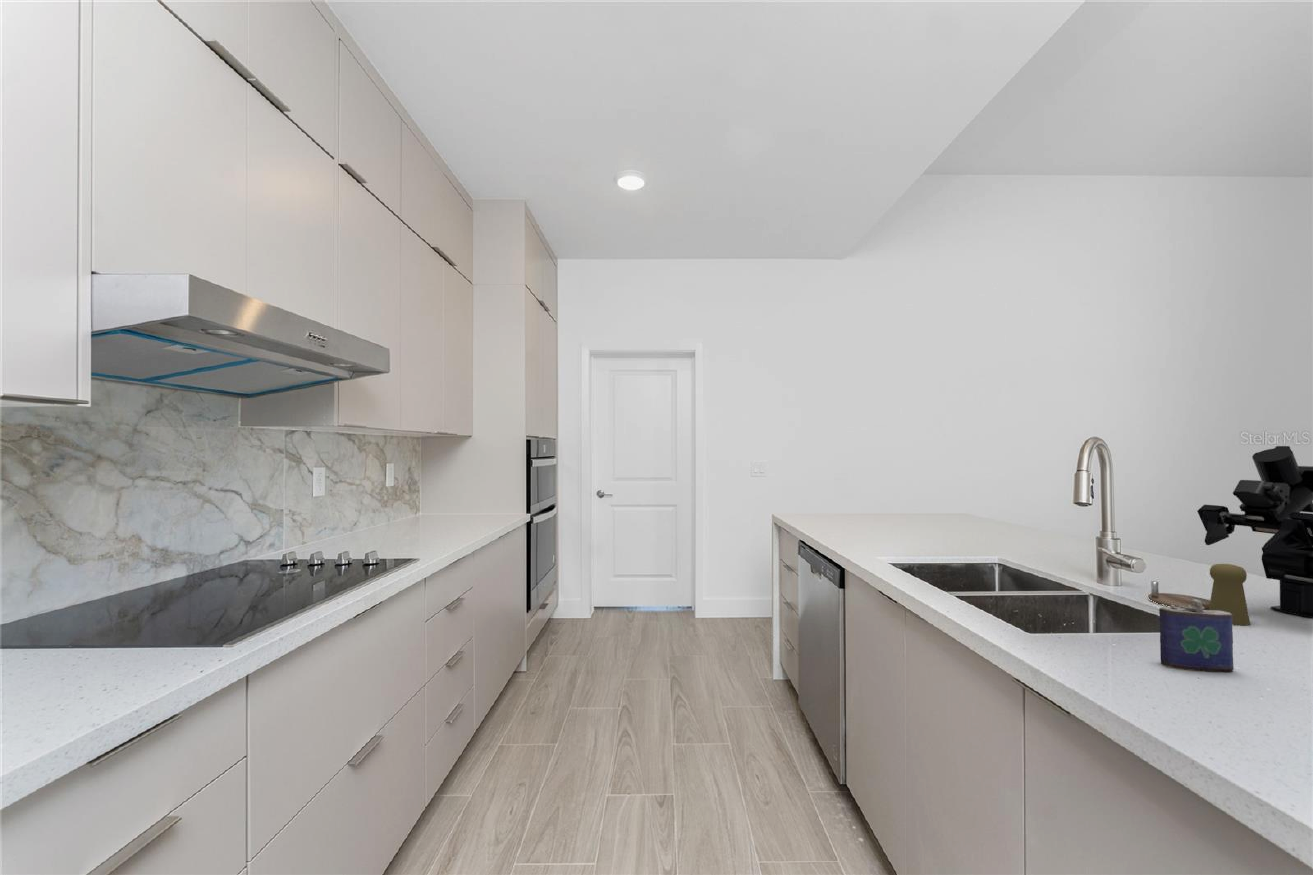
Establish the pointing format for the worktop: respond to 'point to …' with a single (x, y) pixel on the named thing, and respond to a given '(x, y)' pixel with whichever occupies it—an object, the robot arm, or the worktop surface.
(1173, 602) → the walnut plate
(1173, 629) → the flask
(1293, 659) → the worktop surface
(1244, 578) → the cork
